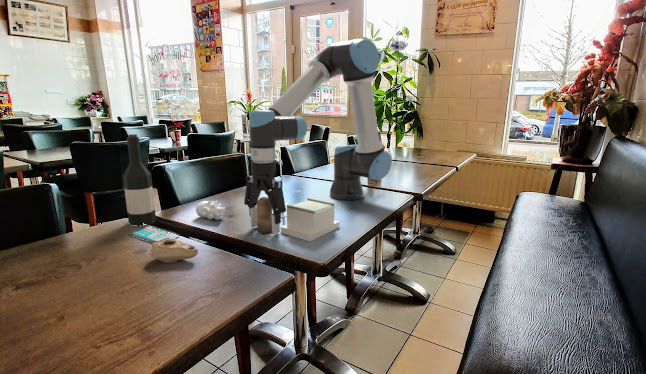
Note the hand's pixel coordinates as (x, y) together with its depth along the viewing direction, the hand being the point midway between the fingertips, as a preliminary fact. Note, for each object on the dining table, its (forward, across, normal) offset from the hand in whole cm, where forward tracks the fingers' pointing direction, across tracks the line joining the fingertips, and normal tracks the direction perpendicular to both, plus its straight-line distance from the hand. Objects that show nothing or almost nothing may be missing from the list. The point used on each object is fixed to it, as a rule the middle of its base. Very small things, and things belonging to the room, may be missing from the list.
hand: (265, 229), depth 113 cm
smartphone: (+1, -24, -24) cm, 34 cm away
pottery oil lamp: (+1, -3, -30) cm, 30 cm away
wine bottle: (+1, -39, -20) cm, 44 cm away
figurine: (+1, -24, -3) cm, 24 cm away
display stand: (0, +11, +10) cm, 15 cm away
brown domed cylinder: (0, 0, 0) cm, 0 cm away
